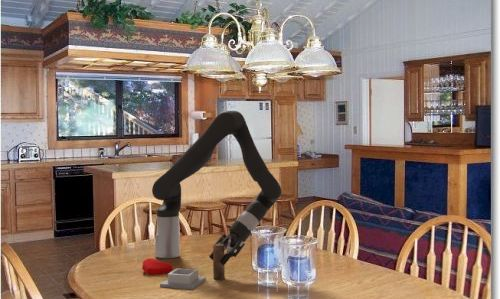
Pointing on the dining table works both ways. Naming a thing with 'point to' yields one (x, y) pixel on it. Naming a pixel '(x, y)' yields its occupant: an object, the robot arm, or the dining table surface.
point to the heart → (156, 267)
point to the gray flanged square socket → (183, 279)
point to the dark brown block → (217, 266)
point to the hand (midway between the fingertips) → (216, 261)
